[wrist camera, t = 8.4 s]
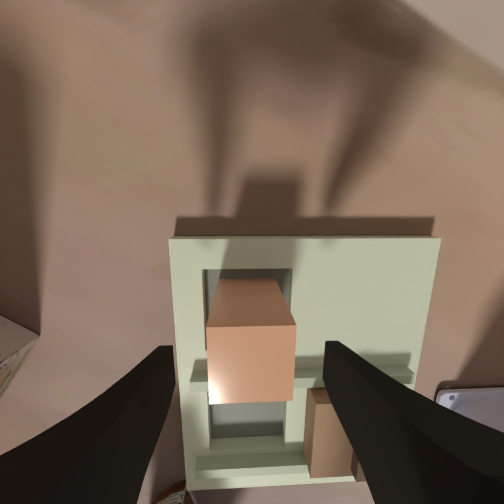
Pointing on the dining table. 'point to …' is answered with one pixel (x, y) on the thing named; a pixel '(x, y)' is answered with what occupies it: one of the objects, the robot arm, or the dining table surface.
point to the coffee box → (13, 349)
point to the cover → (327, 440)
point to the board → (307, 339)
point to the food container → (176, 495)
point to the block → (250, 343)
